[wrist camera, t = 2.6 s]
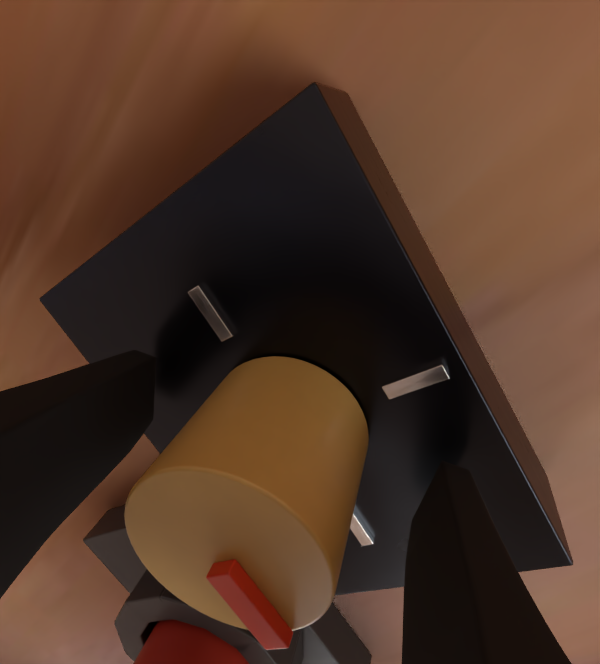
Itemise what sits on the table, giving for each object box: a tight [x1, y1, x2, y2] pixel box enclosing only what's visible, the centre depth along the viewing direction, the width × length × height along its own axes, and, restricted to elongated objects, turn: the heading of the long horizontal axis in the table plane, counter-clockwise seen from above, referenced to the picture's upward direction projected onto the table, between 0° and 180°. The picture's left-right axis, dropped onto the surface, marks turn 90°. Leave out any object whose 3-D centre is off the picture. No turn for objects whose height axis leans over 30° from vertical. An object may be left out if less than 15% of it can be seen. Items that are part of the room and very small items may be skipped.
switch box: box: [83, 505, 371, 664], centre depth 18 cm, size 11×8×4 cm
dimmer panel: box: [40, 82, 573, 595], centre depth 12 cm, size 12×9×3 cm
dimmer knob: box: [124, 356, 369, 650], centre depth 9 cm, size 4×4×4 cm
